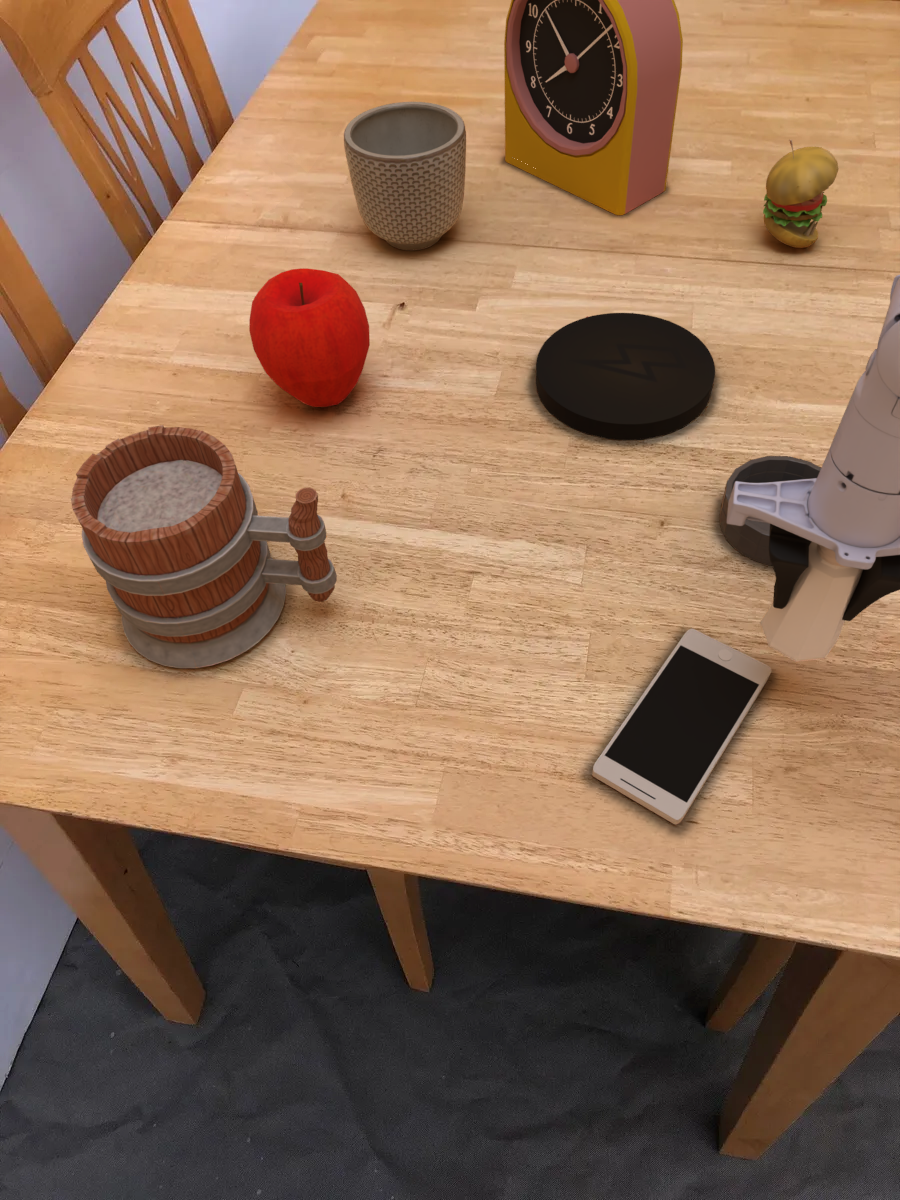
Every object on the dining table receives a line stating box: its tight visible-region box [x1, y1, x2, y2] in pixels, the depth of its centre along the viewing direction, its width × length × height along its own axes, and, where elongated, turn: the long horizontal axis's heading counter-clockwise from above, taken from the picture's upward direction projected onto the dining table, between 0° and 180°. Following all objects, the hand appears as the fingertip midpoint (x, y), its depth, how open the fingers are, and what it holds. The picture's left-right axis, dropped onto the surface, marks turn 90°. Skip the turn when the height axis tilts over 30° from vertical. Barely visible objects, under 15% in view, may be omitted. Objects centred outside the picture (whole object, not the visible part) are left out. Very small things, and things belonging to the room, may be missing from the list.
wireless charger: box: [535, 312, 716, 441], centre depth 94 cm, size 18×18×2 cm
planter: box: [343, 101, 467, 252], centre depth 109 cm, size 14×14×13 cm
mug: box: [70, 424, 338, 669], centre depth 73 cm, size 14×19×15 cm
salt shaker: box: [759, 542, 863, 663], centre depth 61 cm, size 5×5×11 cm
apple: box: [248, 267, 371, 408], centre depth 91 cm, size 12×12×13 cm
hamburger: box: [762, 139, 839, 249], centre depth 104 cm, size 8×7×12 cm
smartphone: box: [591, 628, 772, 825], centre depth 69 cm, size 7×16×1 cm, turn 144°
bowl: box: [718, 455, 822, 567], centre depth 80 cm, size 10×10×4 cm
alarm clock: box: [503, 0, 684, 216], centre depth 111 cm, size 21×9×26 cm, turn 42°
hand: (811, 603), depth 63 cm, fingers closed on salt shaker, 4 cm apart
